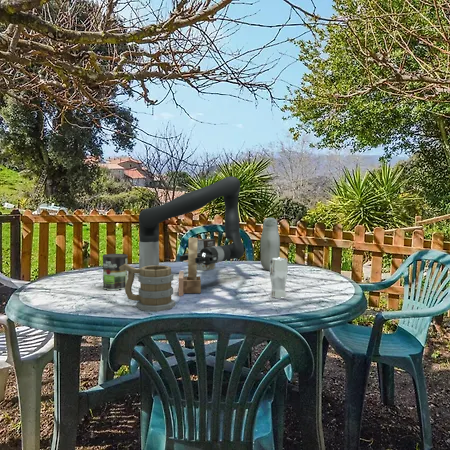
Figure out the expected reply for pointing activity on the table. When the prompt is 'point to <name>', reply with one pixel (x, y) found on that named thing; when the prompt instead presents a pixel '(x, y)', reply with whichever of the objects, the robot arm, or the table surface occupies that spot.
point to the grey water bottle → (269, 242)
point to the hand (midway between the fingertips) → (188, 259)
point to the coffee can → (114, 271)
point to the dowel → (192, 259)
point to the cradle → (191, 285)
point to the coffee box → (200, 245)
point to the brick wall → (181, 282)
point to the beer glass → (278, 276)
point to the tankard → (151, 287)
